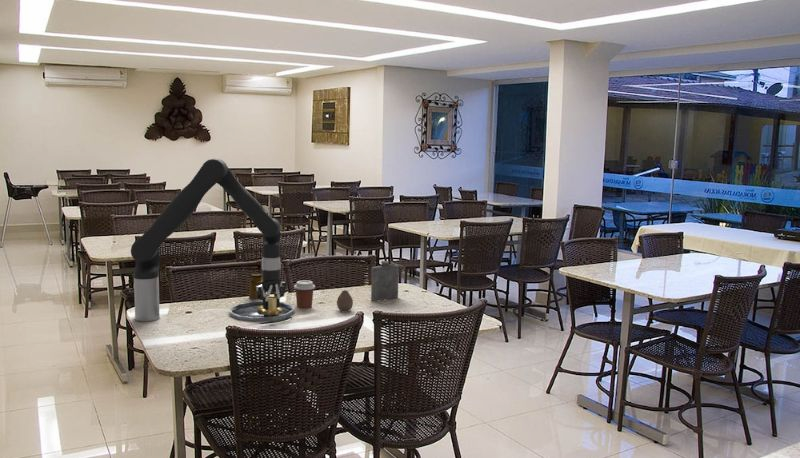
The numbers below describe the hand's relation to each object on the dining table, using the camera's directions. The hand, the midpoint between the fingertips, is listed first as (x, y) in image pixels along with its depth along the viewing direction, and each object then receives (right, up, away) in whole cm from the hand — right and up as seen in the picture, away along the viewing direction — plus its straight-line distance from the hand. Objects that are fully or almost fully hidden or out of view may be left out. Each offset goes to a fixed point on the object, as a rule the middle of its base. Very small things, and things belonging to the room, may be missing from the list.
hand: (271, 308), depth 268 cm
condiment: (-13, 0, +29) cm, 31 cm away
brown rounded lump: (+29, -3, +16) cm, 33 cm away
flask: (+45, 0, +38) cm, 59 cm away
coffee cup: (+11, -3, +17) cm, 20 cm away
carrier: (-5, -4, +6) cm, 8 cm away
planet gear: (0, -2, 0) cm, 2 cm away
